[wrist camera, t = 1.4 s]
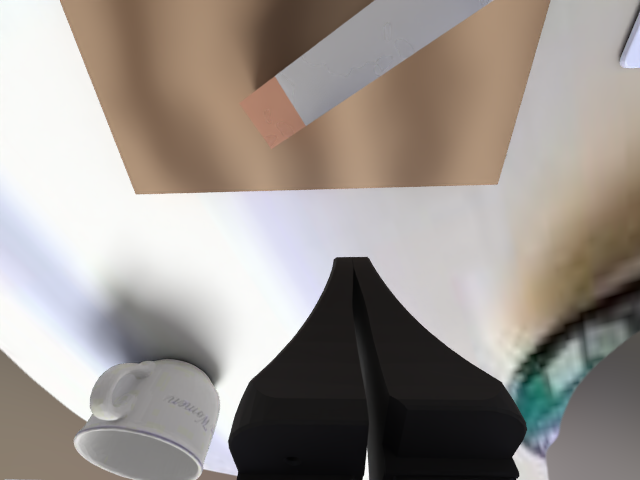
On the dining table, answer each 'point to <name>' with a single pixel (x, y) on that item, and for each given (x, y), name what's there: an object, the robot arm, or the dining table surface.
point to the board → (323, 133)
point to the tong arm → (350, 61)
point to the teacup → (150, 421)
